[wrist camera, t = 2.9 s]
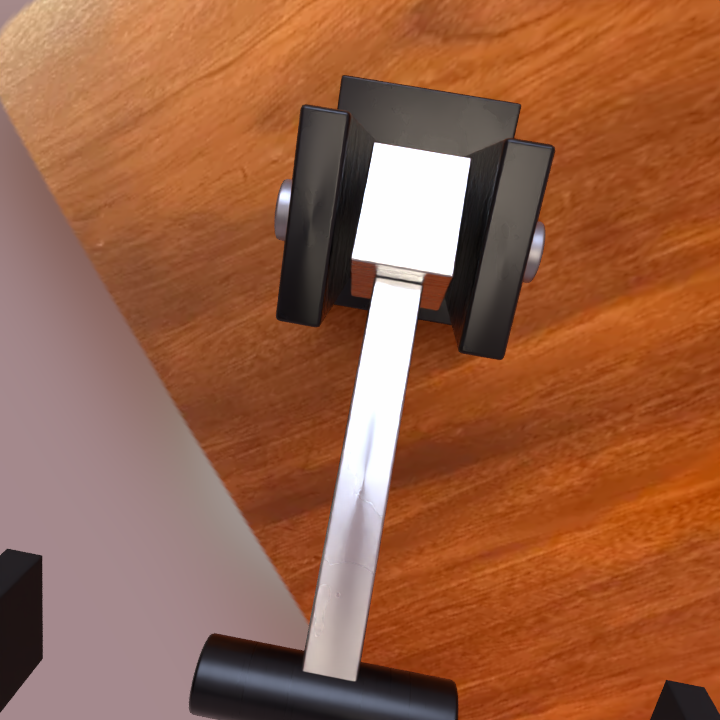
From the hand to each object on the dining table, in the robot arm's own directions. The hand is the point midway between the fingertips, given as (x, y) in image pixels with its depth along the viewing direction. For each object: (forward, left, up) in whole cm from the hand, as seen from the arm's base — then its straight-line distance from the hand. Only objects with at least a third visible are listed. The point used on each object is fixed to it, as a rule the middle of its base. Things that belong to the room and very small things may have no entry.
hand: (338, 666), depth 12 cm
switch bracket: (-6, +7, -16) cm, 18 cm away
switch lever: (-3, +3, -3) cm, 5 cm away
